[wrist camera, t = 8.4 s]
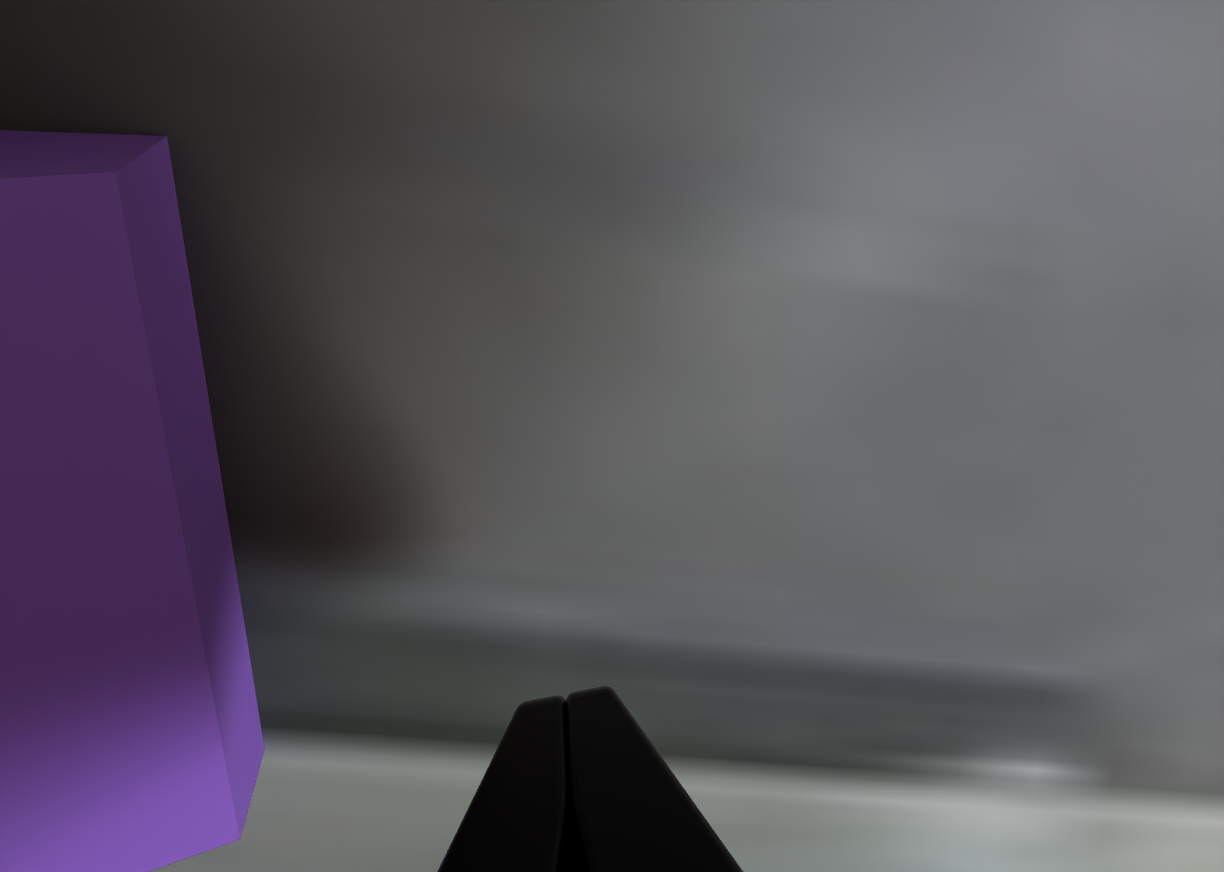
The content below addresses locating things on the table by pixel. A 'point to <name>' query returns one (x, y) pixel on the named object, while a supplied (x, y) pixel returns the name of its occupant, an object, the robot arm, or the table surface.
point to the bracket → (111, 525)
